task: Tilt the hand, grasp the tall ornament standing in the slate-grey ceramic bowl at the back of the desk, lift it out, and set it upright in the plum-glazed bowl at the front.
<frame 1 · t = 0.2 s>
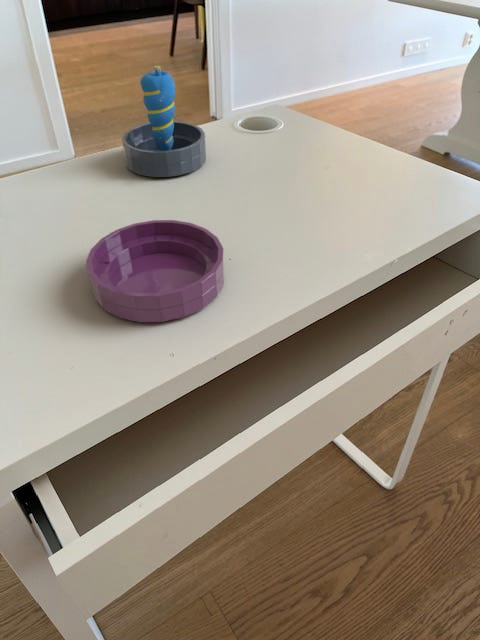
grey bowl: (166, 162, 85), on the table
plum bowl: (159, 282, 60), on the table
ornament: (166, 160, 85), resting on grey bowl
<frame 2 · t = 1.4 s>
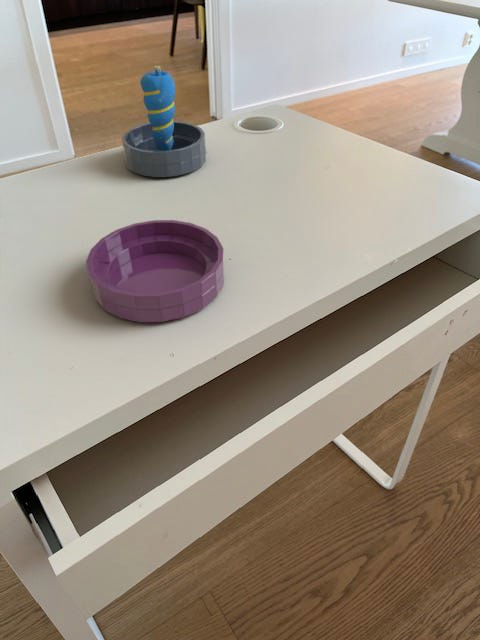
nothing on the table moved.
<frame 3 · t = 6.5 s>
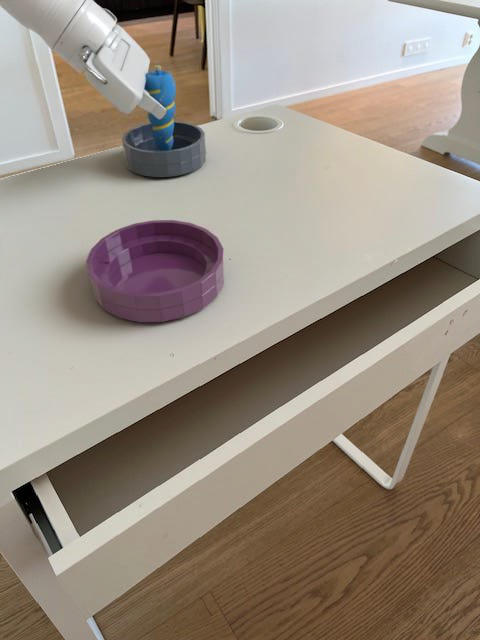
hand: (164, 107, 80), 9 cm above the table, tool tilted 45°, fingers closed on ornament, 5 cm apart
ornament: (166, 160, 85), resting on grey bowl, touching gripper
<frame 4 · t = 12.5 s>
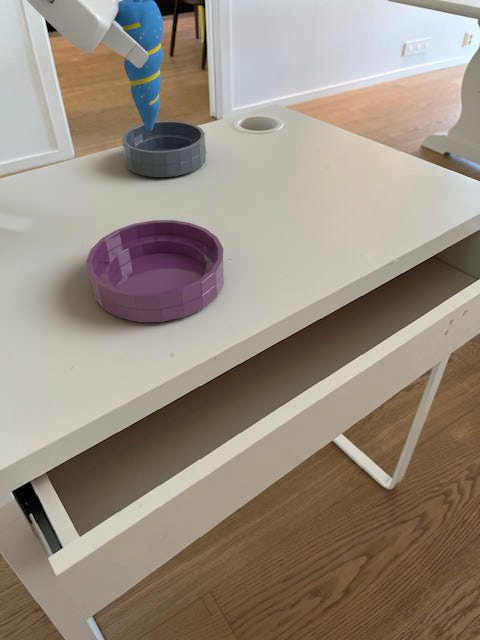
hand: (147, 53, 56), 21 cm above the table, tool tilted 45°, fingers closed on ornament, 5 cm apart
ornament: (150, 131, 62), point 13 cm above the table, touching gripper
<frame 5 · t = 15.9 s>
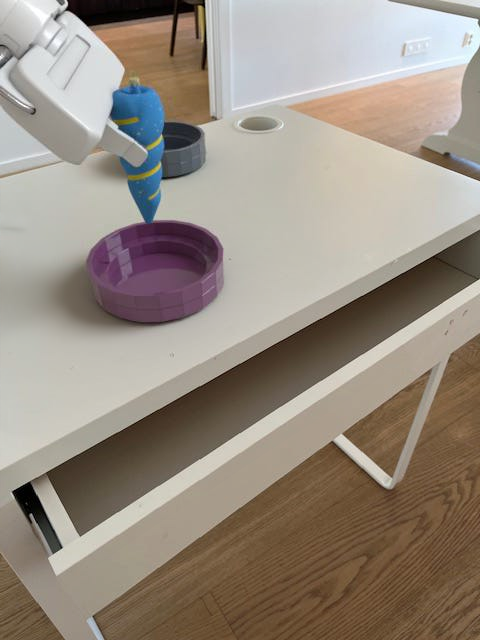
hand: (146, 145, 49), 17 cm above the table, tool tilted 45°, fingers closed on ornament, 5 cm apart
ornament: (150, 224, 55), point 8 cm above the table, touching gripper
when the fingers open (9 cm above the table, at t = 18.5 s): ornament stays where it is, resting on plum bowl.
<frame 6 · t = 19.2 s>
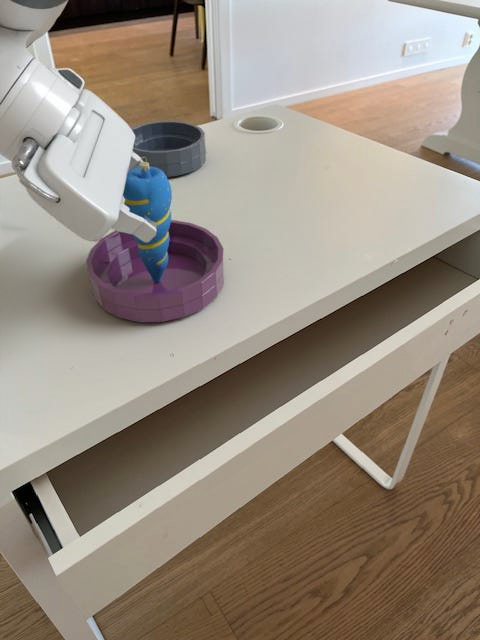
hand: (155, 210, 54), 9 cm above the table, tool tilted 45°, fingers open, 8 cm apart
ornament: (158, 282, 60), resting on plum bowl
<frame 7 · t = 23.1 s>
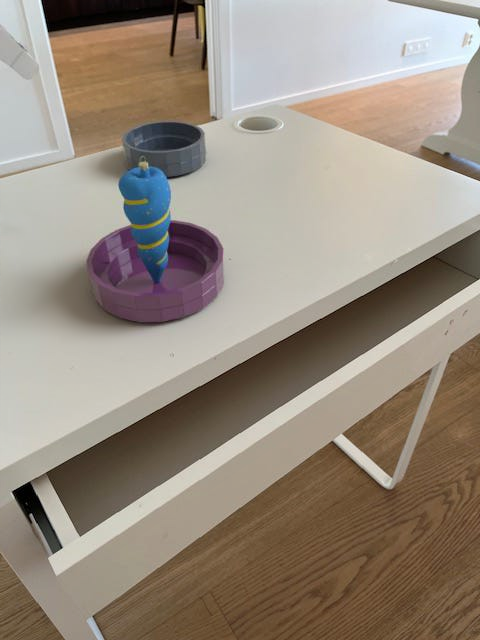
hand: (28, 65, 48), 23 cm above the table, tool tilted 40°, fingers open, 8 cm apart
nothing on the table moved.
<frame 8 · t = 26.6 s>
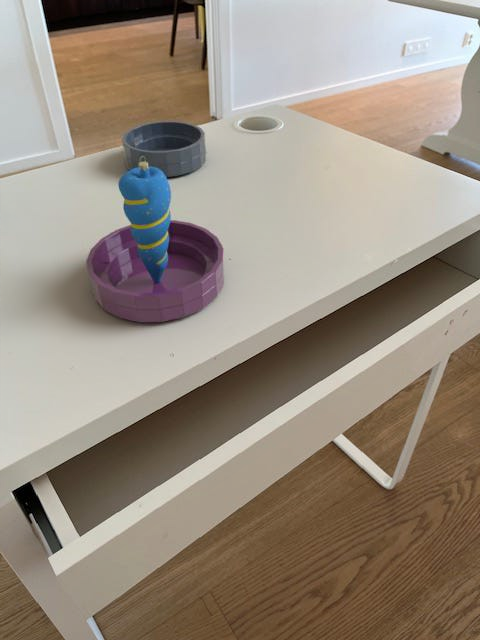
nothing on the table moved.
at the end: ornament inside the target area in the plum bowl (0.3 cm from its centre), point 0.3 cm above the plum bowl's base; ornament tilted 0°; the gripper is holding nothing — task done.
